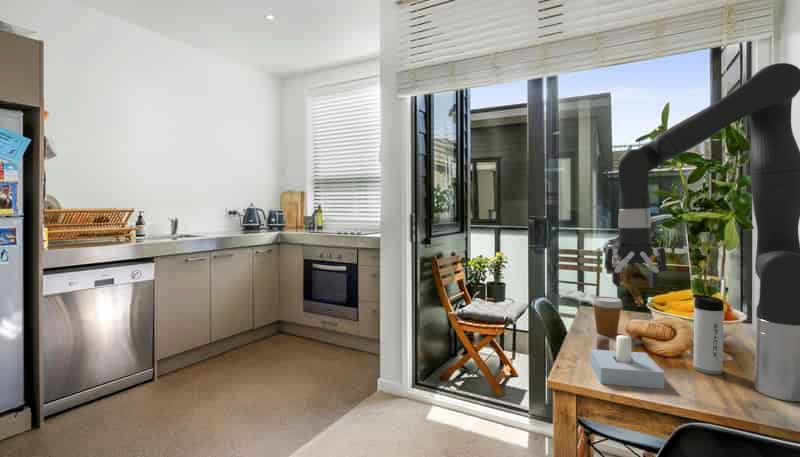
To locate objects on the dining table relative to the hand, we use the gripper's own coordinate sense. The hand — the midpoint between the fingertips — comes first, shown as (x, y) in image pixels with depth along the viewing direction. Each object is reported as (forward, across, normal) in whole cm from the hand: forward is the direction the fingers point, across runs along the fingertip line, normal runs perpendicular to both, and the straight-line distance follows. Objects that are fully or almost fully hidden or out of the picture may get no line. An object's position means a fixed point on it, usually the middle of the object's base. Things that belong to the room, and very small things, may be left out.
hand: (634, 286), depth 111 cm
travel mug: (+23, +18, +3) cm, 29 cm away
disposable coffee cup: (+23, +1, +34) cm, 40 cm away
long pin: (+22, -4, -4) cm, 23 cm away
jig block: (+22, -4, -4) cm, 23 cm away
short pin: (+22, -6, +11) cm, 26 cm away
